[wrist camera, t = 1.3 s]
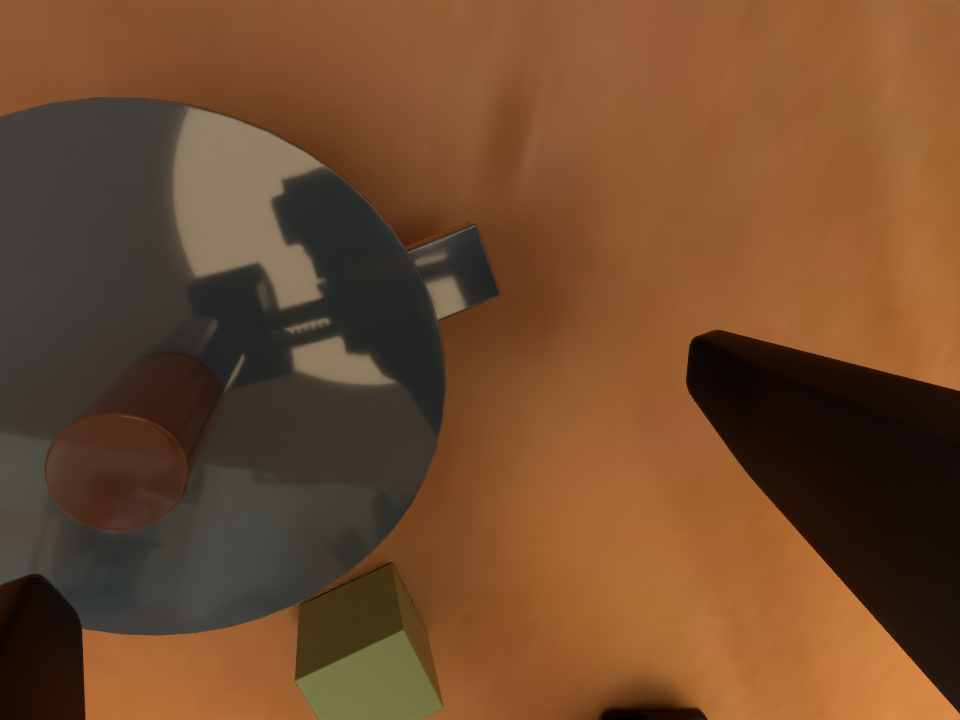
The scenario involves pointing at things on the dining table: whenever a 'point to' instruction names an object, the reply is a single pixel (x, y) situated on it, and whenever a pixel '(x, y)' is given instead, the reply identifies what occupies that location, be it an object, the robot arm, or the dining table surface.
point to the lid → (199, 366)
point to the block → (366, 653)
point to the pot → (455, 269)
